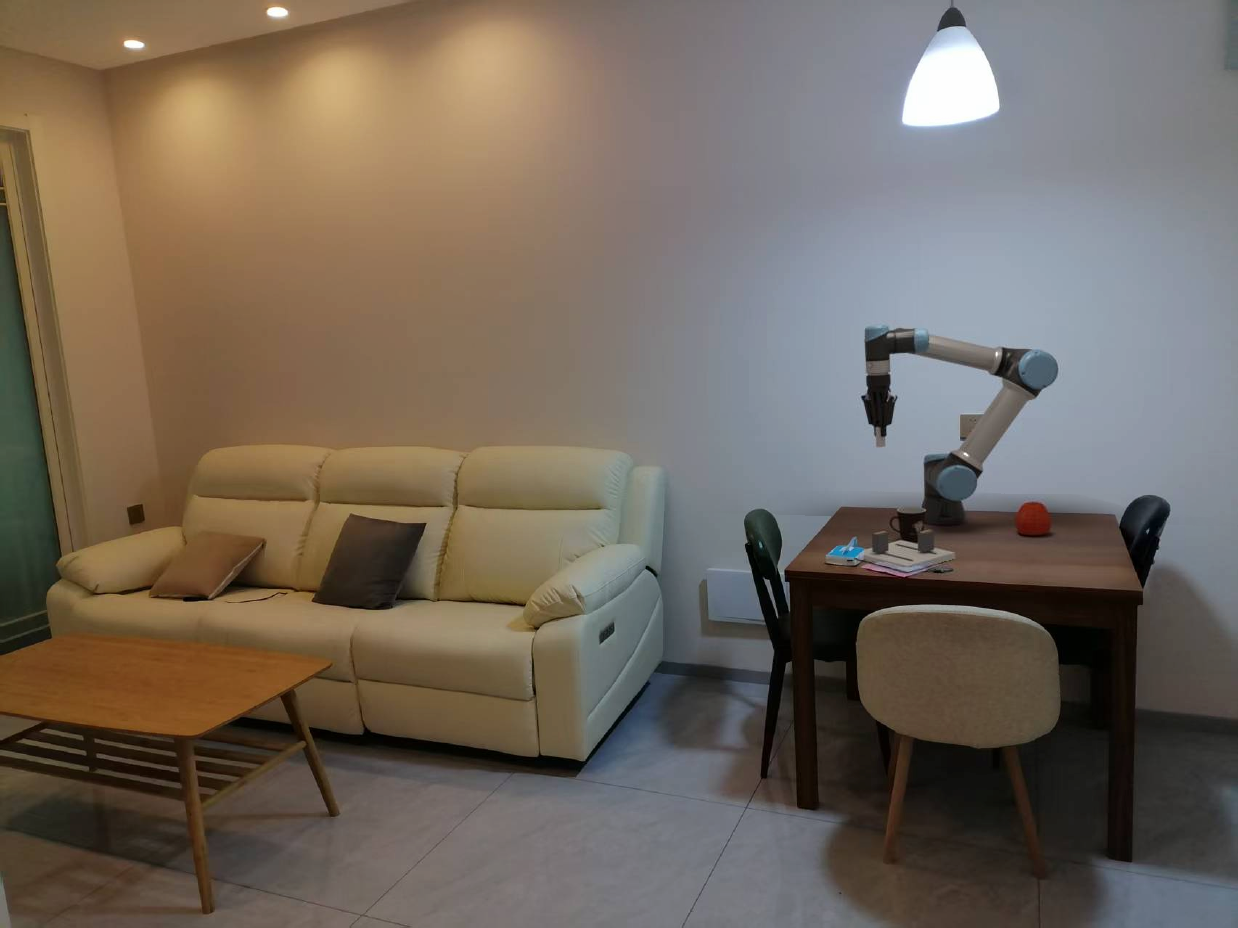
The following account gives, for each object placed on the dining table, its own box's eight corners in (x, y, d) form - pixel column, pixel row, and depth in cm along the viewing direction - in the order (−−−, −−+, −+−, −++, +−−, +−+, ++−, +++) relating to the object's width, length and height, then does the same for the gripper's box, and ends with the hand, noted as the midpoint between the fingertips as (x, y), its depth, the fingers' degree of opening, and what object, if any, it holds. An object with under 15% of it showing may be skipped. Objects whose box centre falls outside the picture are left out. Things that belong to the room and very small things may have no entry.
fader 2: (927, 547, 259) (927, 529, 258) (934, 549, 257) (933, 530, 256) (917, 550, 257) (917, 531, 256) (924, 552, 255) (924, 533, 254)
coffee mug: (922, 537, 281) (922, 506, 279) (929, 543, 273) (928, 512, 271) (885, 538, 282) (884, 508, 281) (890, 545, 274) (890, 514, 272)
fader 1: (882, 549, 261) (881, 530, 260) (888, 550, 259) (888, 531, 258) (872, 551, 259) (872, 532, 258) (878, 553, 257) (878, 534, 256)
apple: (1028, 539, 270) (1029, 506, 268) (1007, 532, 280) (1007, 500, 278) (1058, 535, 272) (1058, 502, 270) (1036, 528, 282) (1036, 496, 280)
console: (900, 546, 272) (900, 539, 272) (955, 559, 255) (955, 552, 254) (854, 558, 262) (854, 551, 262) (907, 573, 245) (907, 565, 245)
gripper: (854, 375, 285) (857, 446, 288) (886, 375, 274) (889, 449, 278) (869, 372, 289) (872, 443, 293) (902, 372, 278) (904, 446, 282)
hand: (880, 446), depth 285 cm, fingers closed
